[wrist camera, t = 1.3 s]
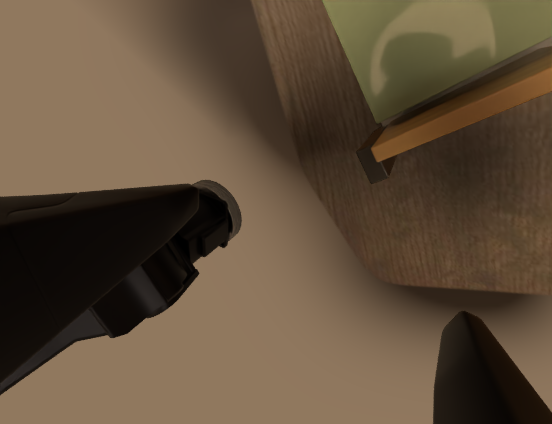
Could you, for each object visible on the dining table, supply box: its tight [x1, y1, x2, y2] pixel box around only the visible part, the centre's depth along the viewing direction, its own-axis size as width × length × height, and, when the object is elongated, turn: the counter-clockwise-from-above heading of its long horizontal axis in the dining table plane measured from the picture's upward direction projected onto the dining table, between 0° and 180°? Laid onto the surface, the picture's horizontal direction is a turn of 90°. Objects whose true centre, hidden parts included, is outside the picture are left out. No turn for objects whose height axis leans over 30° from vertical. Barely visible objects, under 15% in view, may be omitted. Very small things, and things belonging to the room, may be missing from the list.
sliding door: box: [356, 46, 552, 184], centre depth 14 cm, size 9×2×8 cm, turn 123°
